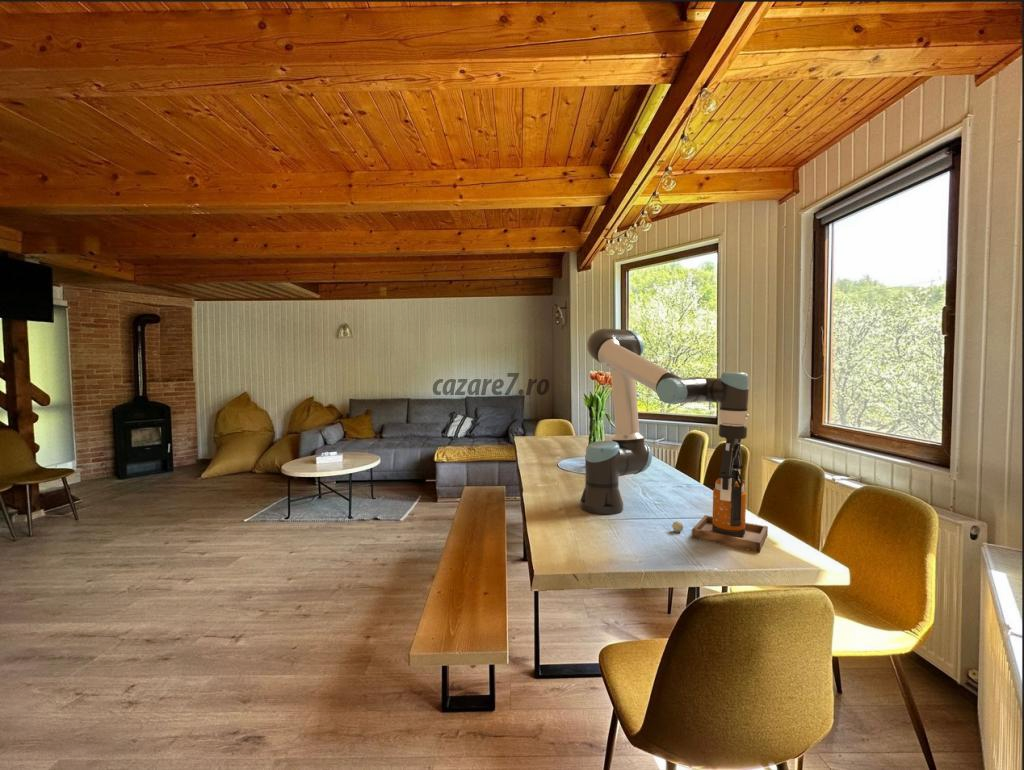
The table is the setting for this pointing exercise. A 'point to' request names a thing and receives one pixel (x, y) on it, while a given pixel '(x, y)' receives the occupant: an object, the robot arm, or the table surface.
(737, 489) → the canister
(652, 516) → the table surface
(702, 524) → the tray
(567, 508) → the table surface
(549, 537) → the table surface
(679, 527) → the ball
